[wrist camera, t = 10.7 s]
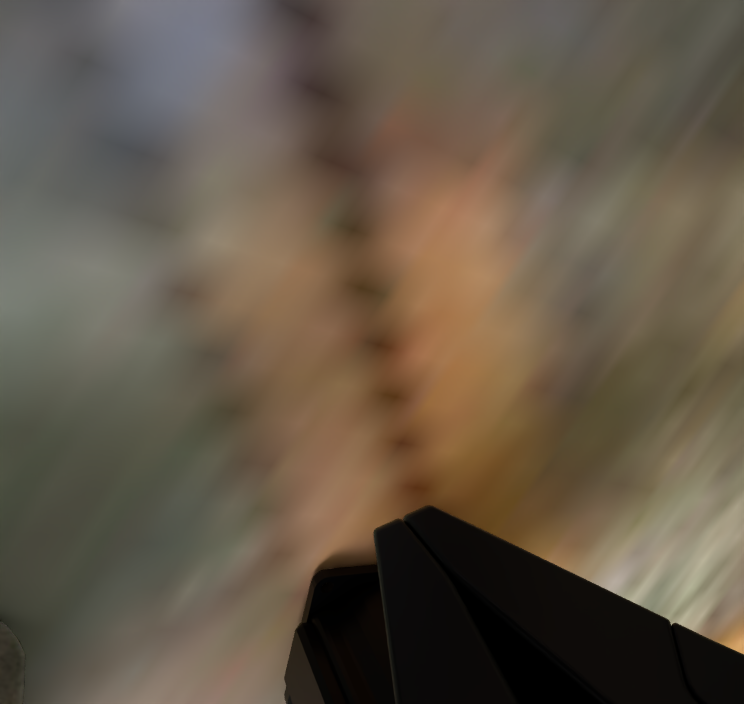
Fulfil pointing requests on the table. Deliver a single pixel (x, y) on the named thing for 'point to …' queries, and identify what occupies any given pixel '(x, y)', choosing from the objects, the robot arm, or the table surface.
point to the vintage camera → (11, 667)
